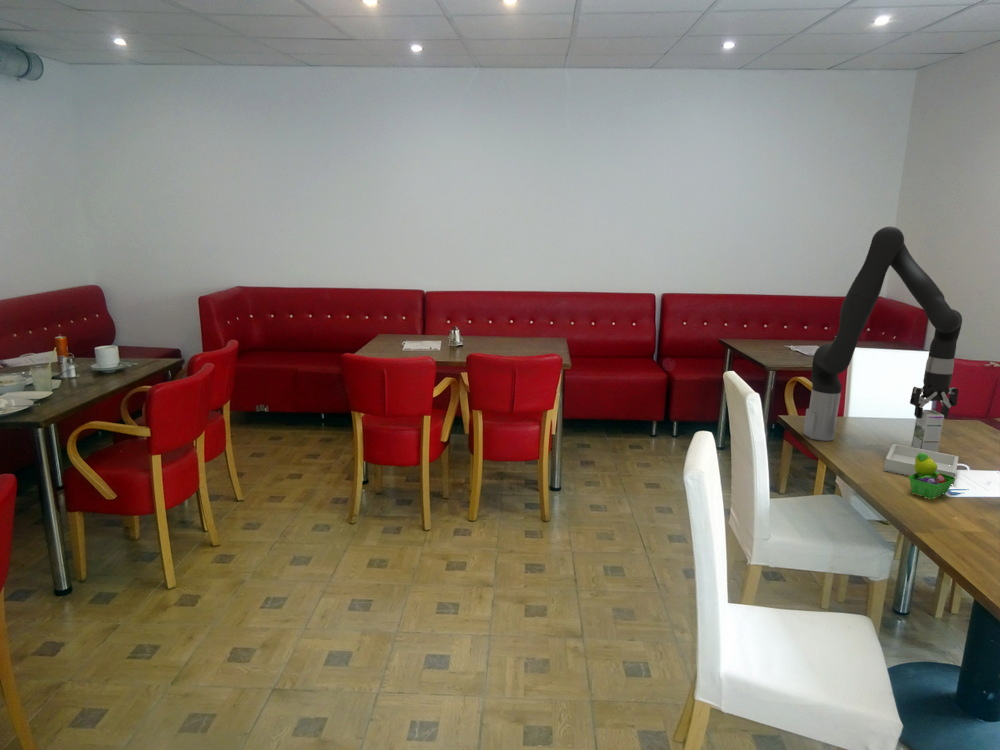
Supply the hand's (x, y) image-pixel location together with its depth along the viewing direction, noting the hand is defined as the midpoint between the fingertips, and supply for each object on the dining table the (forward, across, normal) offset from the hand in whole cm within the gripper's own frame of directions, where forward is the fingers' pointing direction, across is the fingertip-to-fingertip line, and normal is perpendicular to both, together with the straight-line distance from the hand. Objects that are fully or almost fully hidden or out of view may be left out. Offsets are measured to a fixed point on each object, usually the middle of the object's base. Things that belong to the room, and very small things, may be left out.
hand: (930, 417), depth 216 cm
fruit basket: (+12, -22, -33) cm, 42 cm away
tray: (+12, -12, -15) cm, 23 cm away
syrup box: (+12, -1, 0) cm, 13 cm away
